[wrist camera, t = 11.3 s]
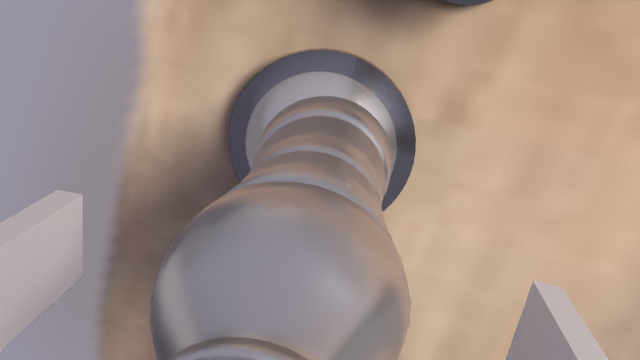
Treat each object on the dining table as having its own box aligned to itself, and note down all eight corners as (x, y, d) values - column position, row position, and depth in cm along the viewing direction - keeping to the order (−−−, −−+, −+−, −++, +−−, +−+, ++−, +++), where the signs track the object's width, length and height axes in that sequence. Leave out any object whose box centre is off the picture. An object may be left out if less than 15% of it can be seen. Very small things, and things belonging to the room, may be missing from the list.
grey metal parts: (242, 33, 26) (190, 48, 18) (433, 66, 26) (461, 94, 18) (210, 360, 33) (164, 468, 26) (358, 388, 33) (355, 506, 25)
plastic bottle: (240, 143, 27) (-75, 481, 8) (336, 58, 25) (217, 243, 6) (320, 229, 28) (210, 695, 9) (417, 154, 26) (529, 558, 7)
